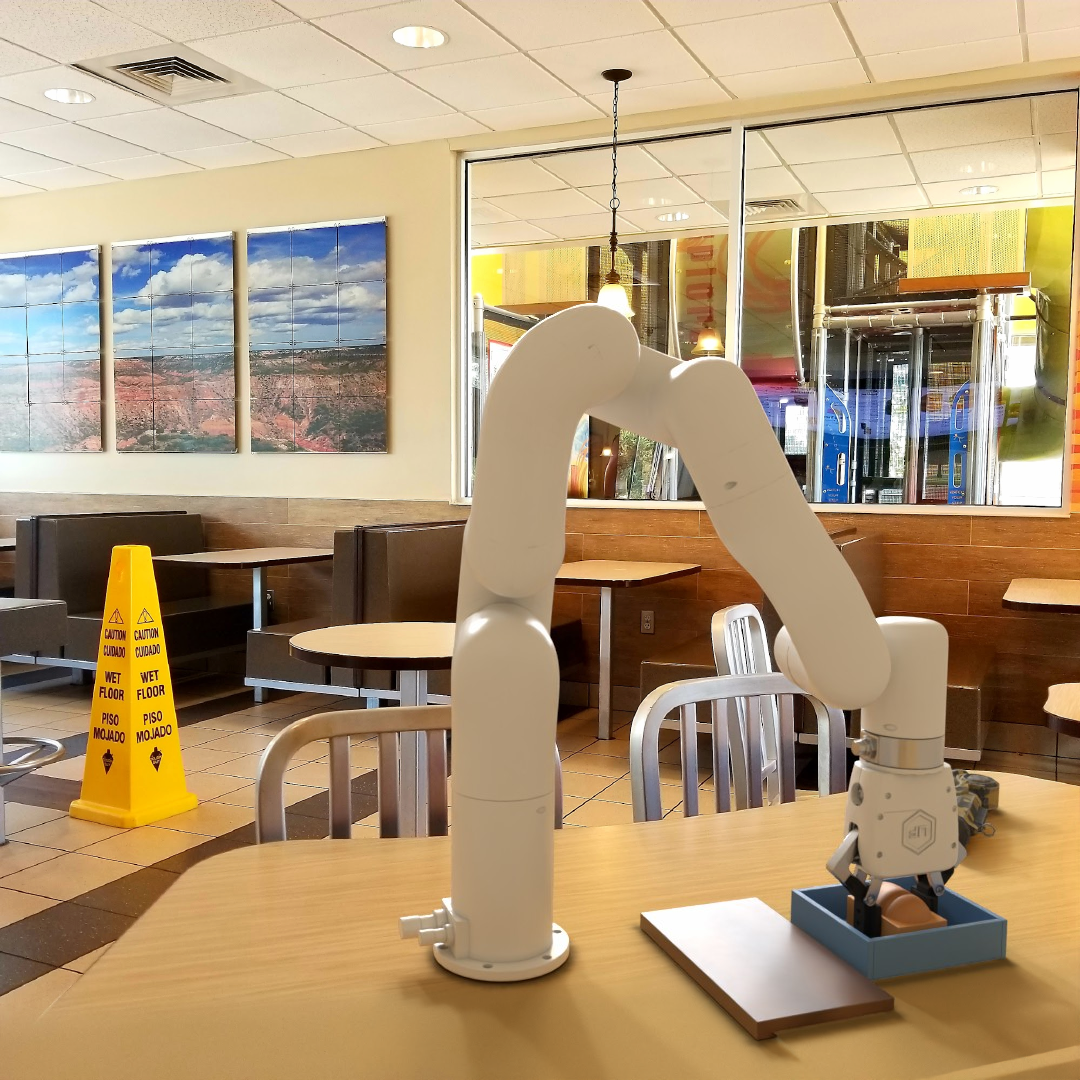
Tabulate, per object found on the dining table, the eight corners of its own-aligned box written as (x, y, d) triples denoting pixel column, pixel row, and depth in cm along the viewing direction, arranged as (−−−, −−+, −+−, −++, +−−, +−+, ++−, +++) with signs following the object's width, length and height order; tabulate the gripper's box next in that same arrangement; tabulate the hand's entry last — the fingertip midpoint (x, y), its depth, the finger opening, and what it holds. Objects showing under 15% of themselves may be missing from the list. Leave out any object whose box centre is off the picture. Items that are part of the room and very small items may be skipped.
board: (756, 1040, 84) (757, 1022, 84) (639, 927, 105) (640, 912, 105) (894, 1015, 89) (895, 997, 89) (756, 911, 109) (756, 896, 109)
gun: (861, 799, 132) (993, 821, 125) (897, 752, 154) (1010, 768, 148) (859, 837, 132) (991, 860, 125) (895, 784, 155) (1008, 801, 148)
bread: (897, 962, 97) (899, 908, 97) (846, 927, 105) (847, 877, 104) (946, 953, 99) (948, 901, 99) (892, 920, 106) (893, 871, 106)
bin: (867, 986, 94) (868, 941, 93) (790, 929, 105) (791, 889, 105) (1006, 962, 99) (1007, 919, 98) (918, 910, 110) (919, 872, 110)
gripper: (848, 767, 94) (841, 967, 95) (1004, 752, 100) (996, 941, 101) (800, 746, 101) (794, 932, 102) (948, 733, 107) (941, 910, 108)
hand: (895, 934), depth 102 cm, fingers open, 5 cm apart
